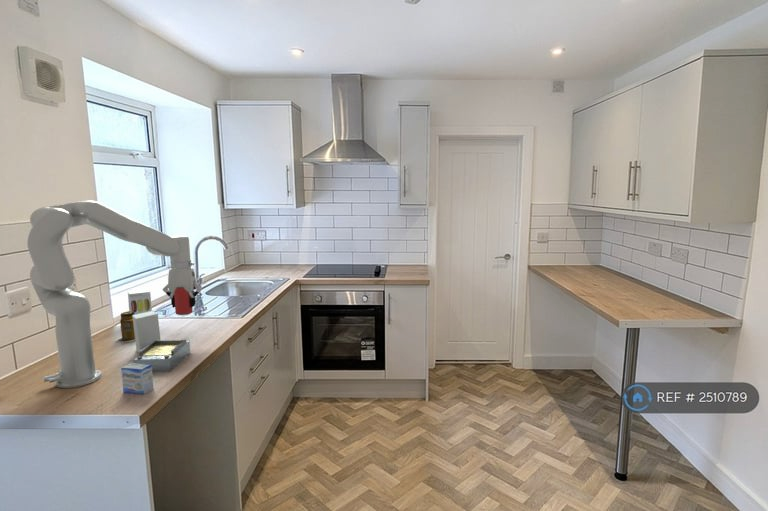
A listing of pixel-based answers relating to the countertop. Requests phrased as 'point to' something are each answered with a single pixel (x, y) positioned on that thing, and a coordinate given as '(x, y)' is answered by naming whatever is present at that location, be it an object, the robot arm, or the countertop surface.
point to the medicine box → (137, 378)
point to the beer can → (182, 301)
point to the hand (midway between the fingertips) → (183, 306)
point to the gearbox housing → (163, 354)
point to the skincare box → (145, 329)
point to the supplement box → (139, 301)
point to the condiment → (127, 327)
